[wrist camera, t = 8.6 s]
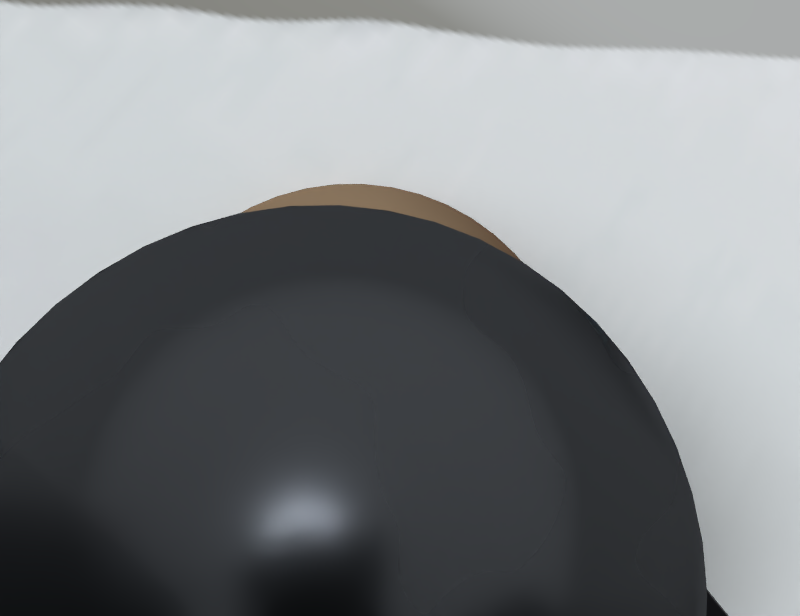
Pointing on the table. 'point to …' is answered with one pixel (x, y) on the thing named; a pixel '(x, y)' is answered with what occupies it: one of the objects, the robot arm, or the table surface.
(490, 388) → the ball
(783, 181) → the table surface
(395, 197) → the socket dock
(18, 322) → the table surface
